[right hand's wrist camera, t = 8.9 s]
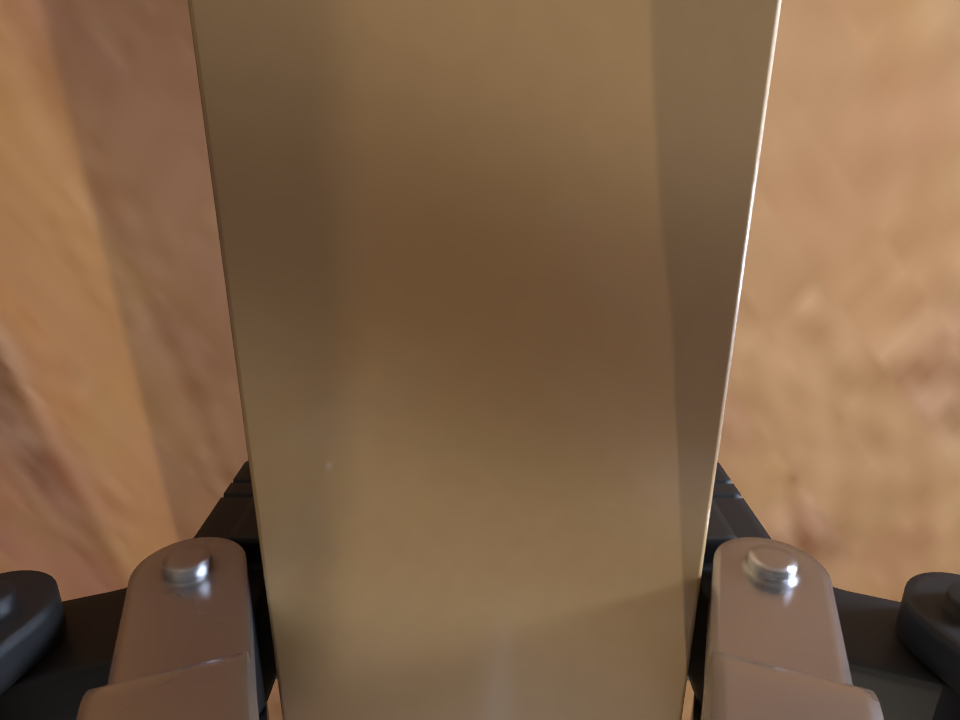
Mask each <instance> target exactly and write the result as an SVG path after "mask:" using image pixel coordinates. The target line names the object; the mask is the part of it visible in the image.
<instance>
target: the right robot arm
mask: <svg viewBox="0 0 960 720" xmlns="http://www.w3.org/2000/svg"><path fill="white" fill-rule="evenodd" d="M275 679H278V678H277V670H276V663H275V655H274V648H273V640H272V633H271V625H270V617H269V610H268V602H267V595H266V587H265V580H264V572H263V565H262V557H261V549H260V542H259V534H258V527H257V519H256V512H255V504H254V496H253V489H252V481H251V474H250V466H249V460H248V461H247V462H245V463H244V465H243V466H242V468H241V469H240V471H239V472H238V474H237V475H236V477H235V478H234V479H233V483H231V484H230V485H229V487H228V488H227V490H226V491H225V493H224V497H223V498H221V499H220V500H219V502H218V503H217V505H216V506H215V507H214V509H213V510H212V512H211V513H210V515H209V516H208V518H207V519H206V521H205V522H204V524H203V525H202V527H201V528H200V530H199V531H198V533H197V534H196V535H195V537H194V538H193V539H188V540H184V541H180V542H177V543H174V544H171V545H169V546H167V547H164V548H162V549H160V550H158V551H156V552H155V553H153V554H151V555H150V556H148V557H147V558H146V559H145V560H143V561H142V562H141V563H140V564H139V565H138V566H137V567H136V568H135V569H134V571H133V573H132V574H131V576H130V579H129V582H128V587H127V588H124V589H120V590H116V591H112V592H107V593H102V594H97V595H92V596H88V597H83V598H78V599H73V600H68V601H63V602H62V601H61V597H60V593H59V589H58V585H57V583H56V581H55V579H54V578H53V577H52V576H50V575H48V574H46V573H43V572H39V571H31V570H22V571H12V572H6V573H1V574H0V720H269V712H268V705H267V700H268V698H269V695H270V693H271V690H272V687H273V684H274V682H275ZM687 680H690V683H691V685H692V688H693V691H694V699H693V706H692V713H691V720H960V575H957V574H952V573H943V572H930V573H923V574H919V575H916V576H914V577H912V578H911V579H910V580H909V581H908V582H907V584H906V586H905V590H904V593H903V597H902V601H901V602H897V601H892V600H887V599H882V598H877V597H872V596H868V595H863V594H858V593H853V592H849V591H845V590H841V589H838V588H835V587H832V582H831V579H830V576H829V574H828V573H827V571H826V569H825V568H824V567H823V566H822V565H821V564H820V563H819V562H818V561H817V560H816V559H814V558H813V557H812V556H810V555H809V554H807V553H806V552H804V551H802V550H800V549H798V548H796V547H793V546H791V545H789V544H786V543H783V542H780V541H776V540H772V539H771V538H770V536H769V535H768V533H767V532H766V531H765V529H764V528H763V526H762V525H761V523H760V522H759V520H758V519H757V517H756V516H755V515H754V513H753V512H752V510H751V509H750V507H749V506H748V504H747V503H746V502H745V500H744V499H743V498H741V494H740V493H739V491H738V490H737V488H736V487H735V486H734V484H731V480H730V478H729V477H728V475H727V474H726V472H725V471H724V470H723V468H722V467H721V465H720V464H719V463H718V462H717V467H716V474H715V482H714V489H713V496H712V503H711V510H710V517H709V525H708V532H707V539H706V546H705V553H704V561H703V568H702V575H701V582H700V589H699V596H698V604H697V611H696V618H695V625H694V632H693V639H692V647H691V654H690V661H689V668H688V675H687Z"/></svg>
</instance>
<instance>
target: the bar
mask: <svg viewBox="0 0 960 720" xmlns="http://www.w3.org/2000/svg"><path fill="white" fill-rule="evenodd" d="M781 1H782V0H188V5H189V12H190V20H191V28H192V35H193V43H194V50H195V58H196V65H197V73H198V81H199V88H200V96H201V103H202V111H203V118H204V126H205V133H206V141H207V149H208V156H209V164H210V171H211V179H212V186H213V194H214V202H215V209H216V217H217V224H218V232H219V239H220V247H221V254H222V262H223V270H224V277H225V285H226V292H227V300H228V307H229V315H230V323H231V330H232V338H233V345H234V353H235V360H236V368H237V375H238V383H239V391H240V398H241V406H242V413H243V421H244V428H245V436H246V444H247V451H248V459H249V466H250V474H251V481H252V489H253V496H254V504H255V512H256V519H257V527H258V534H259V542H260V549H261V557H262V565H263V572H264V580H265V587H266V595H267V602H268V610H269V617H270V625H271V633H272V640H273V648H274V655H275V663H276V670H277V678H278V686H279V693H280V701H281V708H282V716H283V720H681V718H682V711H683V704H684V697H685V690H686V682H687V675H688V668H689V661H690V654H691V647H692V639H693V632H694V625H695V618H696V611H697V604H698V596H699V589H700V582H701V575H702V568H703V561H704V553H705V546H706V539H707V532H708V525H709V517H710V510H711V503H712V496H713V489H714V482H715V474H716V467H717V460H718V453H719V446H720V439H721V431H722V424H723V417H724V410H725V403H726V396H727V388H728V381H729V374H730V367H731V360H732V353H733V345H734V338H735V331H736V324H737V317H738V309H739V302H740V295H741V288H742V281H743V274H744V266H745V259H746V252H747V245H748V238H749V231H750V223H751V216H752V209H753V202H754V195H755V188H756V180H757V173H758V166H759V159H760V152H761V145H762V137H763V130H764V123H765V116H766V109H767V101H768V94H769V87H770V80H771V73H772V66H773V58H774V51H775V44H776V37H777V30H778V23H779V15H780V8H781Z"/></svg>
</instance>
